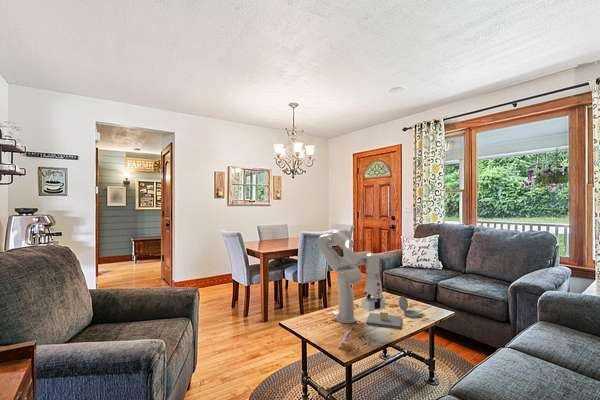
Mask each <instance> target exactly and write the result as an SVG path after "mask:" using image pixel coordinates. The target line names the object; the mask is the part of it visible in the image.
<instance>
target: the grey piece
mask: <svg viewBox="0 0 600 400" xmlns="http://www.w3.org/2000/svg"><path fill="white" fill-rule="evenodd" d="M365 324H366V325H367V326H374V327H375V326H377V327H384V328H389V329H390V328H391V329H399V330H400V329H401V327H402V316H401V315H400V316H399V315H393V314H389V311H383V310H380V312H379V313H375V312H369V314H368V316H367V319H366V322H365Z"/></svg>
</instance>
